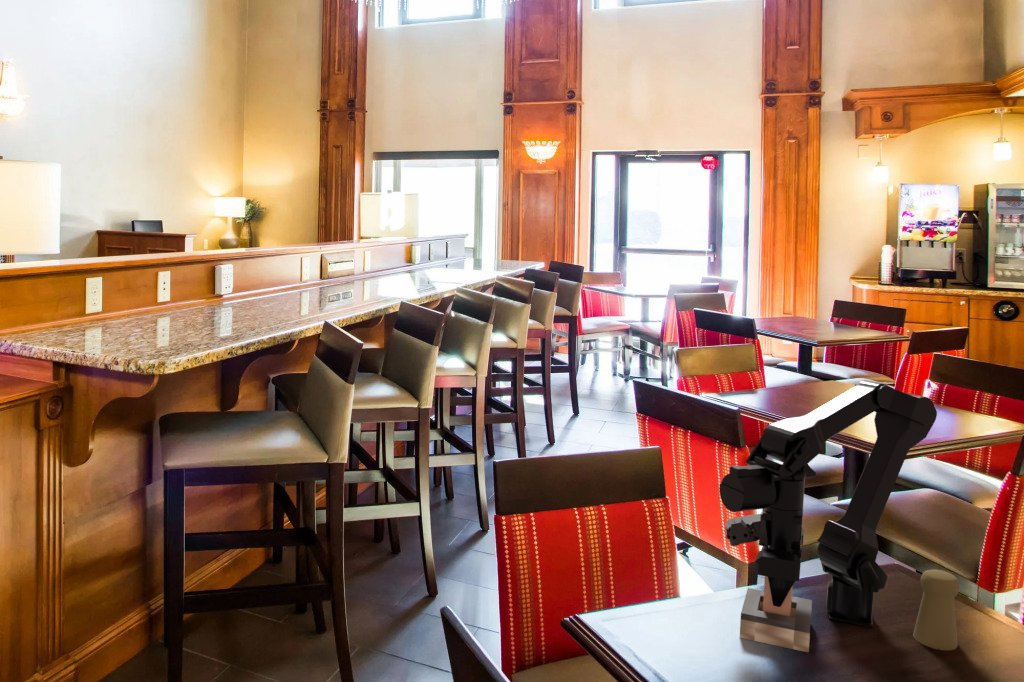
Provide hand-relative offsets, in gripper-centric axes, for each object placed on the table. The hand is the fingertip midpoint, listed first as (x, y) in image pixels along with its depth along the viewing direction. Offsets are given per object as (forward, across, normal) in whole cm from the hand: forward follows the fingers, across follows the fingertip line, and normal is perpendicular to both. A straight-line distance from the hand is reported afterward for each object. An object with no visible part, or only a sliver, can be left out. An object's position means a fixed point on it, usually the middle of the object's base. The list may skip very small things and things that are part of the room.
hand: (777, 600), depth 114 cm
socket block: (+5, 0, 0) cm, 5 cm away
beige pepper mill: (+5, -8, +23) cm, 25 cm away
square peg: (+4, 0, 0) cm, 4 cm away
